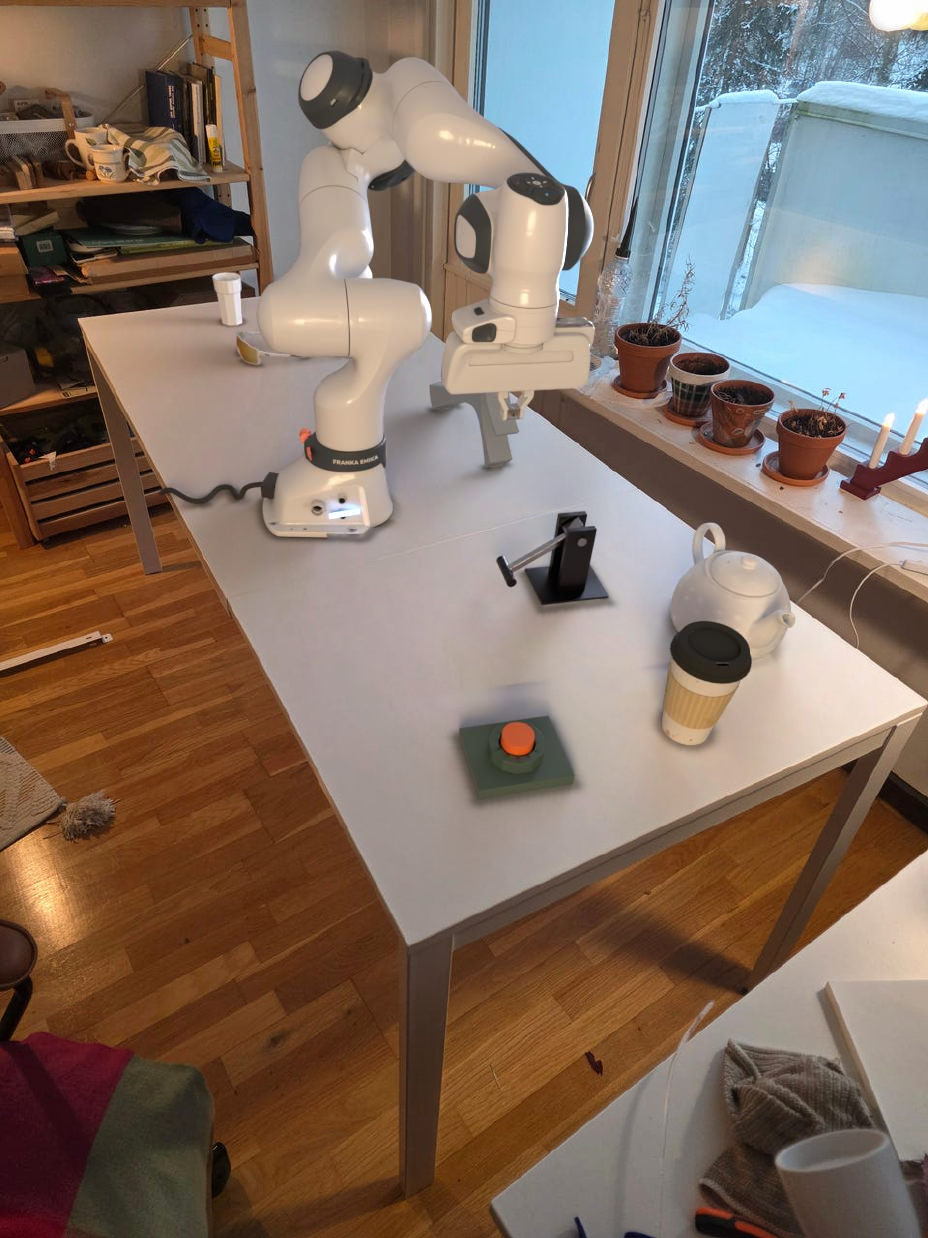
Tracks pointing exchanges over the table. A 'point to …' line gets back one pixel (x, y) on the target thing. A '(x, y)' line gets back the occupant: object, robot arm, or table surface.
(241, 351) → the sunglasses
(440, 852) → the table surface
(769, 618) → the teapot
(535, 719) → the button box
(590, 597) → the lever stand
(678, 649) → the coffee cup
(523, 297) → the robot arm
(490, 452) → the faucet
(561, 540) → the tap lever
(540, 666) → the table surface
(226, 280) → the cup
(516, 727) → the button
